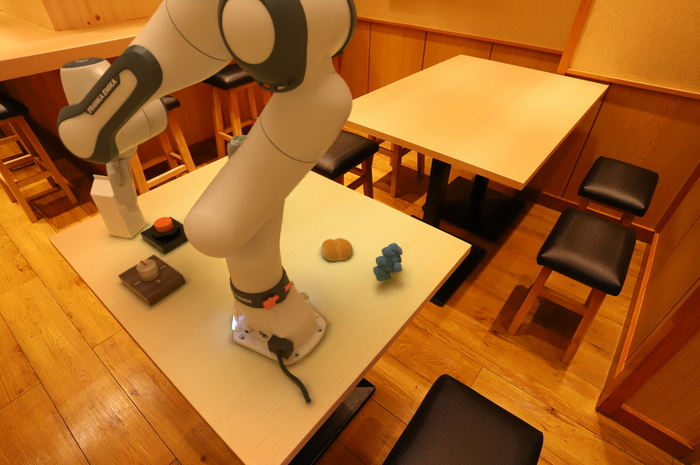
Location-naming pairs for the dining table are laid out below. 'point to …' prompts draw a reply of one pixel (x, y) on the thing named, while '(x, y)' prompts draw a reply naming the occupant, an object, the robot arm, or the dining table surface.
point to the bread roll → (336, 249)
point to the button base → (165, 237)
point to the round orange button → (163, 224)
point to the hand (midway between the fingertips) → (131, 198)
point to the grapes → (388, 262)
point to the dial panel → (153, 282)
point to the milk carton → (115, 210)
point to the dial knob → (148, 270)
